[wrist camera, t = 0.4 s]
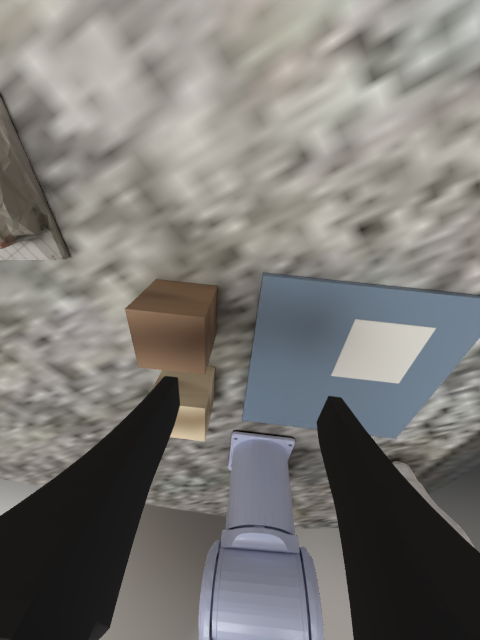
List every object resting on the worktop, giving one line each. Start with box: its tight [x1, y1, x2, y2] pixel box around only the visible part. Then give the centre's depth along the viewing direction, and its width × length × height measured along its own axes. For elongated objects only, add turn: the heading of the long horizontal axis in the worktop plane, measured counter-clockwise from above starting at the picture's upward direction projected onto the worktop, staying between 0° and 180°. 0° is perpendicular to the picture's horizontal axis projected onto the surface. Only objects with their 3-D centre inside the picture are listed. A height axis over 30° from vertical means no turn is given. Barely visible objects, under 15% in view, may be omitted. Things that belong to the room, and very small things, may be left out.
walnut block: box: [125, 279, 217, 375], centre depth 17 cm, size 5×5×5 cm
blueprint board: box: [242, 273, 480, 439], centre depth 21 cm, size 18×18×1 cm
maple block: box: [152, 366, 215, 441], centre depth 22 cm, size 5×5×5 cm
